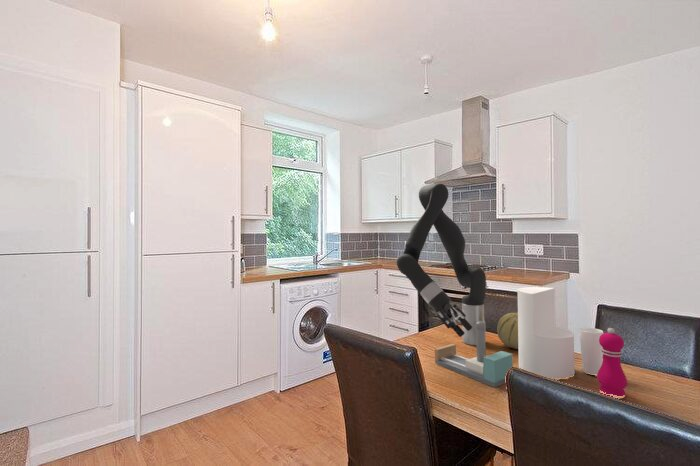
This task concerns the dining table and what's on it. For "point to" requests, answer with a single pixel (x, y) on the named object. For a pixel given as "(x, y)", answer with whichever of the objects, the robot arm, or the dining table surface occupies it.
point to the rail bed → (492, 375)
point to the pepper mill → (611, 364)
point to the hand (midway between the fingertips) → (466, 332)
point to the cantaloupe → (508, 330)
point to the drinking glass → (591, 349)
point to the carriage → (478, 349)
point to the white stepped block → (543, 335)
